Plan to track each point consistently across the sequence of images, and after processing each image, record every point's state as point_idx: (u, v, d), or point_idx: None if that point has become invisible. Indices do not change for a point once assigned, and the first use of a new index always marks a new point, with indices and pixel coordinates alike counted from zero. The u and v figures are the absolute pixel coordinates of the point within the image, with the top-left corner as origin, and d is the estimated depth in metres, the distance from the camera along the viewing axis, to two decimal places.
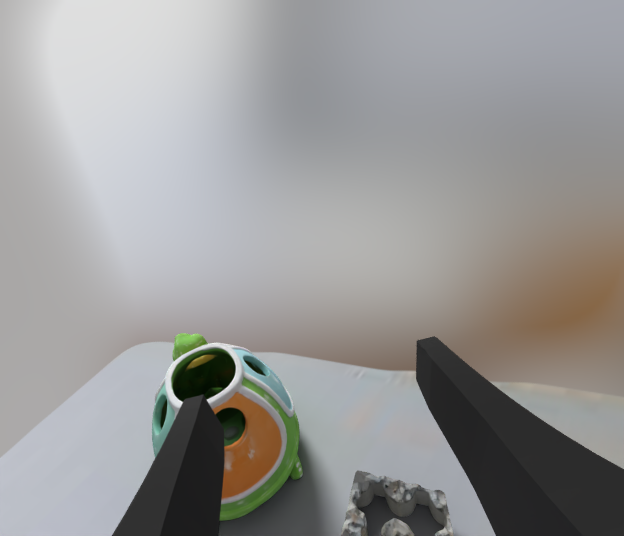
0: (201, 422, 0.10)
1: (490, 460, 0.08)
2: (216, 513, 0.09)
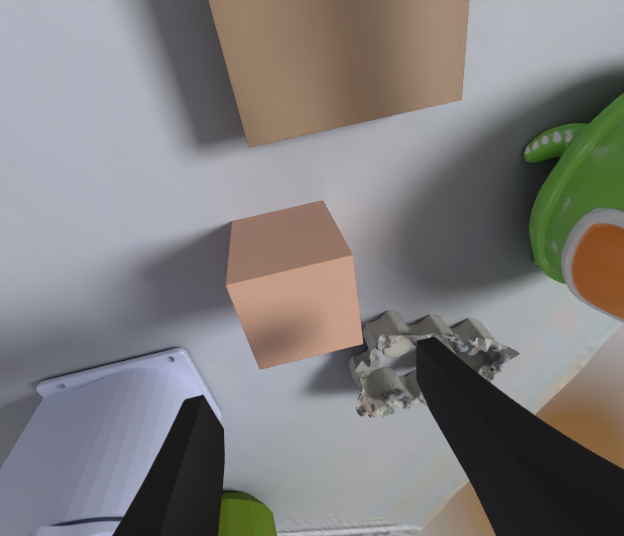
0: (201, 422, 0.10)
1: (490, 460, 0.08)
2: (216, 513, 0.09)
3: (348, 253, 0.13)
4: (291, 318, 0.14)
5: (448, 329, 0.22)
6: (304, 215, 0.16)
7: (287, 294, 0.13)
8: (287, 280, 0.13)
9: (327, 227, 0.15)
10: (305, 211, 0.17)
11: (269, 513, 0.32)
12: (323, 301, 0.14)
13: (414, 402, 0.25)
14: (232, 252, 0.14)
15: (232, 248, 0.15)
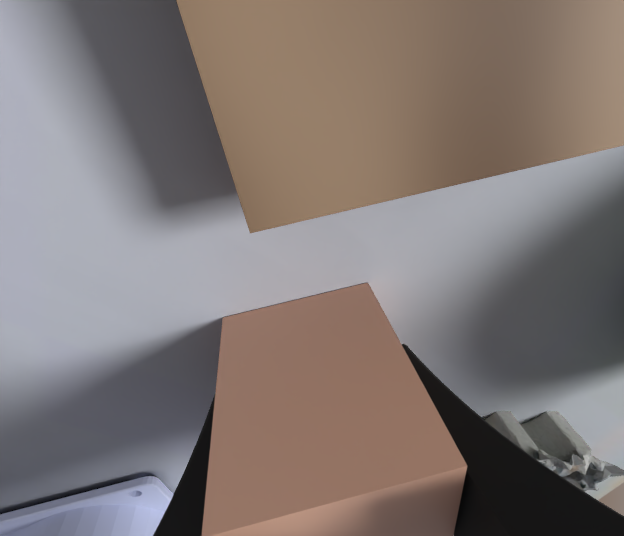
0: None
1: None
2: None
3: (455, 457, 0.06)
4: None
5: (528, 439, 0.16)
6: (342, 318, 0.10)
7: (326, 529, 0.07)
8: (330, 514, 0.06)
9: (390, 359, 0.08)
10: (342, 307, 0.10)
11: None
12: (394, 525, 0.07)
13: None
14: (219, 410, 0.08)
15: (220, 398, 0.08)
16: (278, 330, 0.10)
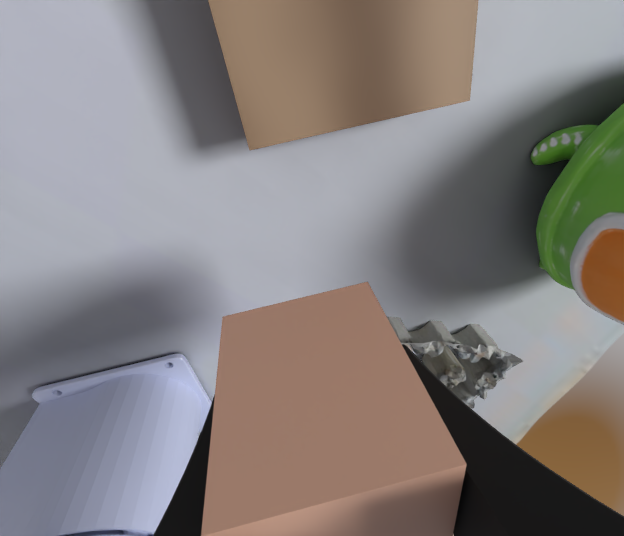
0: None
1: None
2: None
3: (455, 455, 0.06)
4: None
5: (450, 336, 0.22)
6: (342, 317, 0.10)
7: (326, 527, 0.07)
8: (330, 512, 0.06)
9: (389, 358, 0.08)
10: (341, 306, 0.10)
11: None
12: (394, 524, 0.07)
13: None
14: (219, 409, 0.08)
15: (220, 397, 0.08)
16: (278, 329, 0.10)
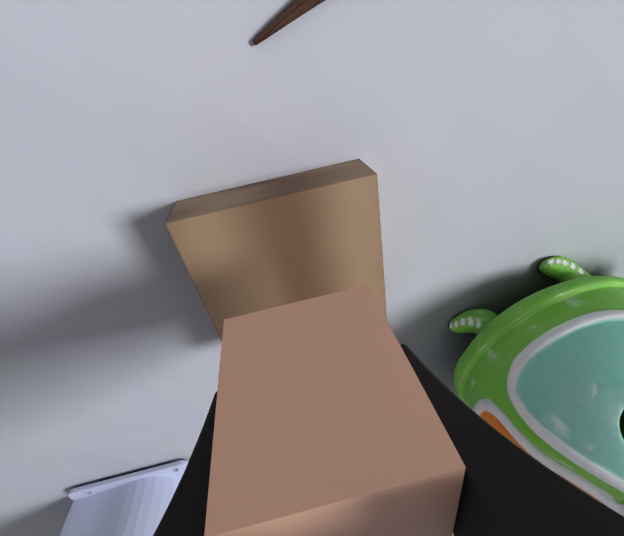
0: None
1: None
2: None
3: (454, 458, 0.06)
4: None
5: None
6: (342, 320, 0.10)
7: (327, 529, 0.07)
8: (331, 514, 0.06)
9: (389, 362, 0.08)
10: (342, 309, 0.10)
11: None
12: (394, 526, 0.07)
13: None
14: (221, 411, 0.08)
15: (222, 400, 0.08)
16: (279, 332, 0.10)
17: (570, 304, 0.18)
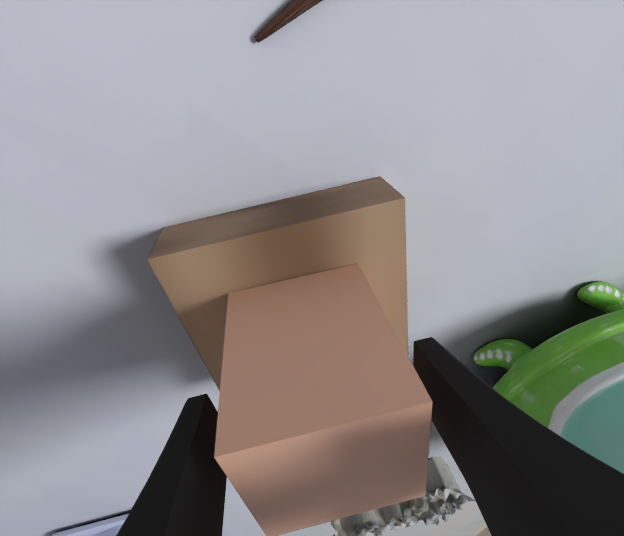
0: (204, 421, 0.10)
1: (486, 461, 0.08)
2: (220, 512, 0.09)
3: (423, 396, 0.07)
4: (322, 482, 0.09)
5: None
6: (334, 293, 0.11)
7: (317, 457, 0.08)
8: (320, 441, 0.07)
9: (374, 324, 0.10)
10: (334, 284, 0.12)
11: None
12: (375, 459, 0.08)
13: (385, 529, 0.28)
14: (226, 365, 0.09)
15: (227, 356, 0.09)
16: (277, 303, 0.11)
17: (620, 342, 0.16)
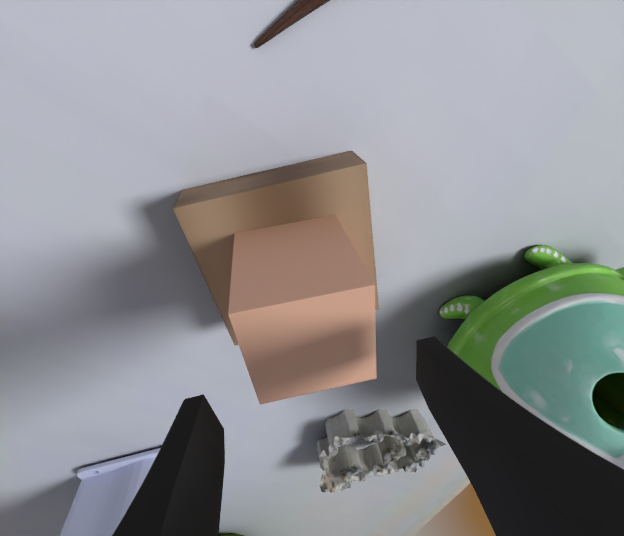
0: (201, 422, 0.10)
1: (490, 460, 0.08)
2: (216, 513, 0.09)
3: (369, 282, 0.11)
4: (300, 351, 0.12)
5: (390, 425, 0.29)
6: (315, 232, 0.15)
7: (297, 325, 0.11)
8: (299, 310, 0.11)
9: (342, 248, 0.13)
10: (316, 226, 0.15)
11: None
12: (337, 333, 0.12)
13: (368, 475, 0.32)
14: (235, 271, 0.13)
15: (235, 267, 0.13)
16: (272, 238, 0.15)
17: (550, 289, 0.19)
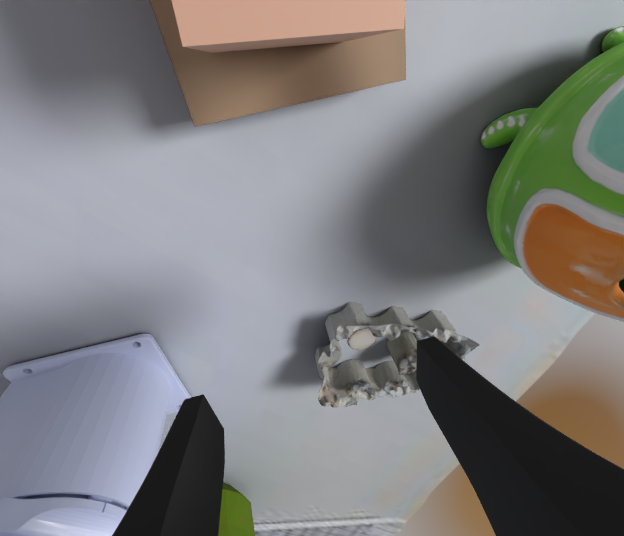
0: (201, 422, 0.10)
1: (490, 460, 0.08)
2: (216, 513, 0.09)
3: None
4: None
5: (409, 320, 0.23)
6: None
7: None
8: None
9: None
10: None
11: (246, 502, 0.32)
12: None
13: (379, 393, 0.25)
14: None
15: None
16: None
17: None
